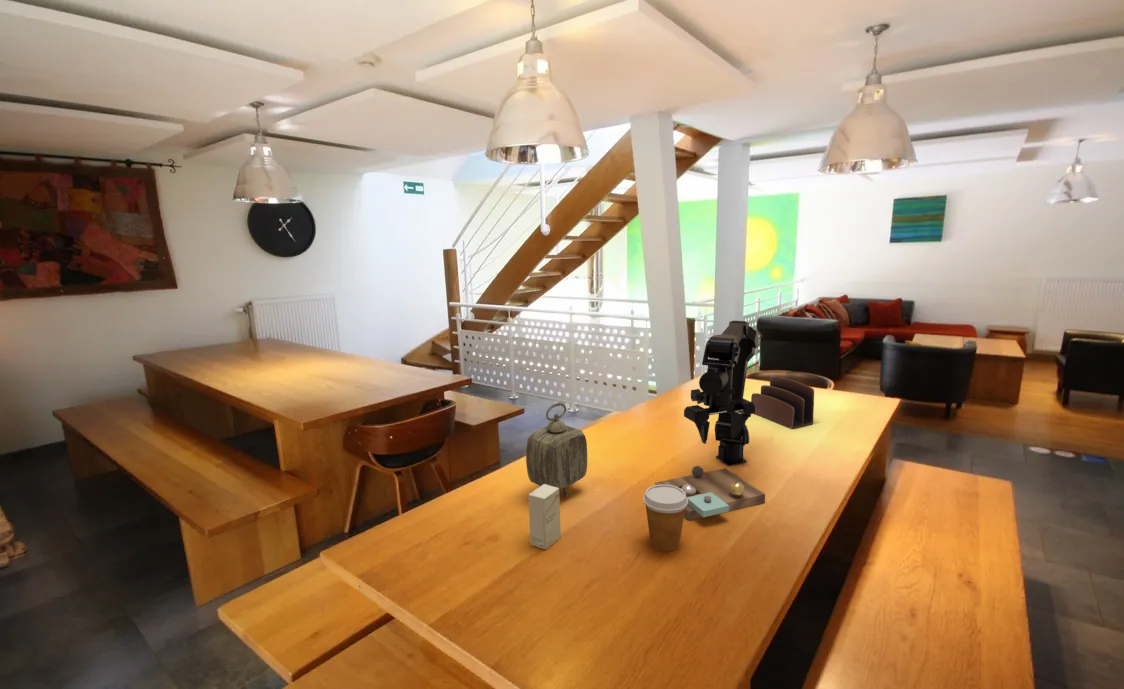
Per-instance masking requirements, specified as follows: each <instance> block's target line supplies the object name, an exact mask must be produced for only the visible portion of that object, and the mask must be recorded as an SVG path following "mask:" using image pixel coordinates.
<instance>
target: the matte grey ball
mask: <svg viewBox="0 0 1124 689" xmlns="http://www.w3.org/2000/svg"><path fill="white" fill-rule="evenodd" d="M703 473H704V469H703V468H702V467H701V466H699V465H695V466H693V467H692V469H691V475H694V476H695V477H701V476H702V475H703Z"/></svg>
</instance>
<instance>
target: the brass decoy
mask: <svg viewBox="0 0 1124 689" xmlns="http://www.w3.org/2000/svg"><path fill="white" fill-rule="evenodd" d="M729 490H730V493H731V494H732V495H733V496H736V497H739V496H742V495H743V494H744V491H745V489H744V486H743V484H742V483H740V482H733V483H731V485H730V487H729Z"/></svg>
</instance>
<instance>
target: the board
mask: <svg viewBox="0 0 1124 689" xmlns="http://www.w3.org/2000/svg"><path fill="white" fill-rule="evenodd" d="M733 482H740V483H742V484H743V486H744V489H745V491H744V494H743V495H742V496H739V497H736V496H733V495H732V494H731V493H730V490H729V487H730V485H731V483H733ZM661 484H664V485H672V486H676V487H678V488H680V489H681V488H682V486H684V485H685V484H691V485H693V486H694V487H695V488H696V491H697V494H696V495H701V494H705V493H710V492H712V493H713V494H714V495H716V496H717V497H718V498H720V499H721V500H722V501H724V502H725V503H726V504H728V505H729V511H728V512H732V511H736V510H741V509H745V508H749V507H753V506H758V505H763V504H765V503H766V493H764V492H763V491H762V490H760V489H758V488H756V487H755V486H754V485H753V484H750V483H748V482H747V481H745V479H743V478H741V477H740V476H738V475H737V474H735V473H734V472H732V471H730V470H729V469H728V468H726V467H725V468H720V469H715V470H709V471H705V472H704V471H703V475H702V476H701V477H695V476H694V475H693V474H690V475H686V476H681V477H680V476H679V477H674V478H671V479H667V480H666V479H665V480H662V481H661V480H660V481H656V482H654V485H661ZM696 495H693V496H696ZM688 497H692V496H688ZM684 518H685V519H686V520H687V521H688V522H690V521H695V520H698V519H702V518H704V517H702V516H701V515H700V514H699V513H698V512H696V511H695V510H694V509H693V508H692V507H690V506H689V505H688V504H687V506H686V508H685V513H684Z"/></svg>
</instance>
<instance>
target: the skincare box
mask: <svg viewBox="0 0 1124 689" xmlns="http://www.w3.org/2000/svg"><path fill="white" fill-rule="evenodd" d="M527 495H528V496H527V497H528V514H529V515H528V516H529V519H528V520H529V535H530V536H529V537H530V538H529V541H530V545H531V546H533V547H537V548H540V549H542V550H547V549H548V548H550V547H551V546H553V545H554V544H555V543H556V542H557V541H559V539H561V536H562V531H561V508H560V506H561V504H560V503H561V501H560V489H559V488H557V487H554V486H550V485H547V484H543V485H542V486H538V487H537V488H536V489H535V490H533V491H532V492H530V493H528V494H527Z"/></svg>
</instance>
